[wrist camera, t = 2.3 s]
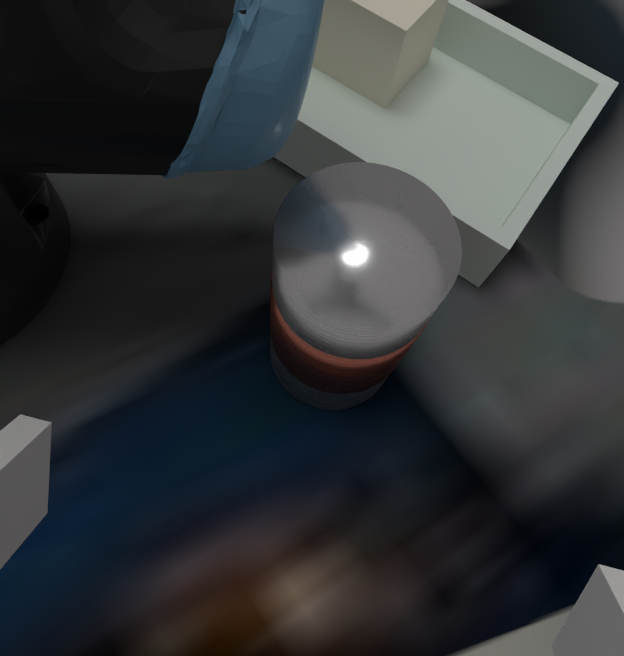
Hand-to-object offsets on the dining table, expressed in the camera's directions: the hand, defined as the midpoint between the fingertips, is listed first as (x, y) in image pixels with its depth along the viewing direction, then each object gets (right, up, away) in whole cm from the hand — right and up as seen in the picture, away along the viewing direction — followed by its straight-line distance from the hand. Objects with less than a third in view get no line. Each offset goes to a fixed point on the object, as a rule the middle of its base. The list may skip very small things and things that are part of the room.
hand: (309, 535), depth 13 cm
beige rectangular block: (+4, +25, +26) cm, 36 cm away
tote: (+6, +20, +25) cm, 32 cm away
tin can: (+1, +4, +18) cm, 18 cm away
